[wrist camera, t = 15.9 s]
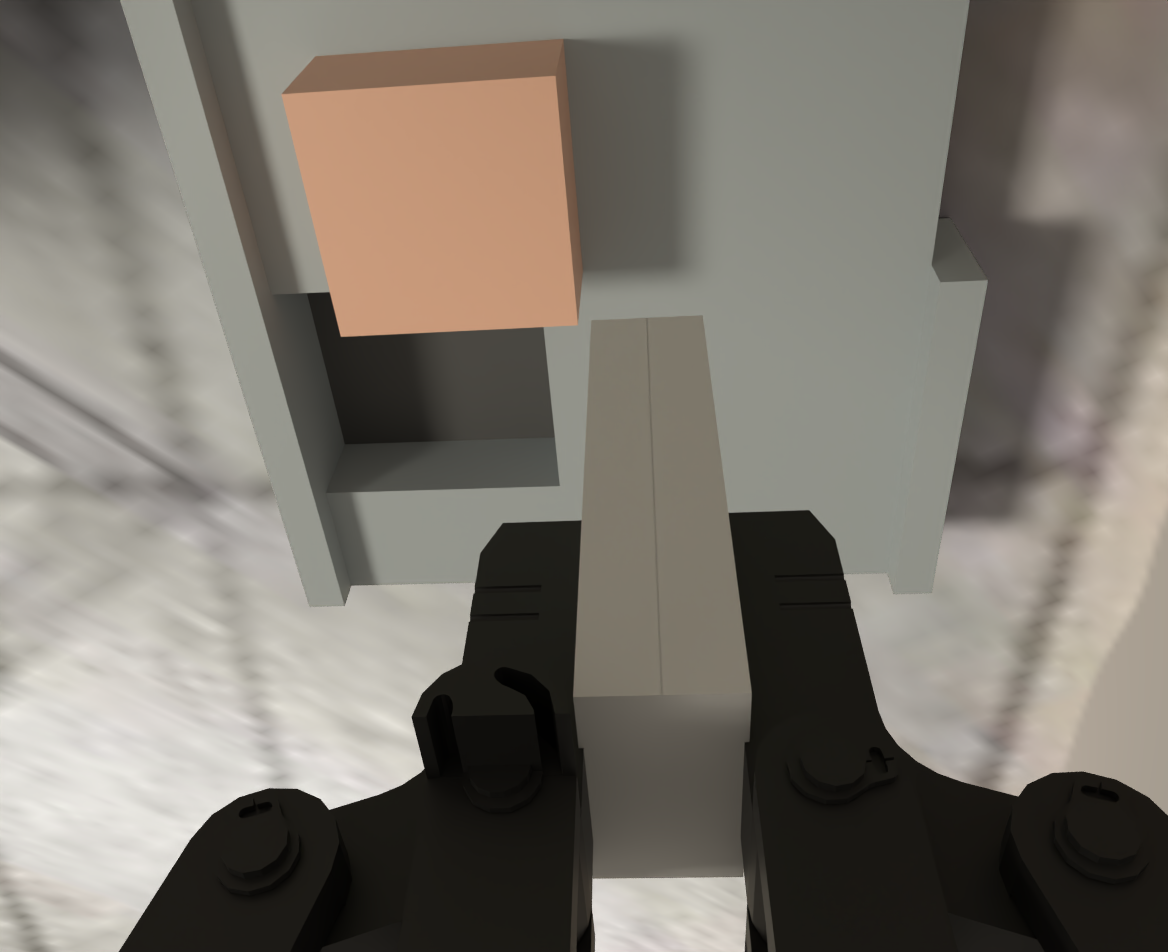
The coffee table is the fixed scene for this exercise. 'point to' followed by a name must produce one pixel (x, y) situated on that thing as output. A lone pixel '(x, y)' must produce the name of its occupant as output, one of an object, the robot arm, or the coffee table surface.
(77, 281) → the coffee table surface
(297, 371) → the trap box
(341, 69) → the block
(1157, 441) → the coffee table surface
